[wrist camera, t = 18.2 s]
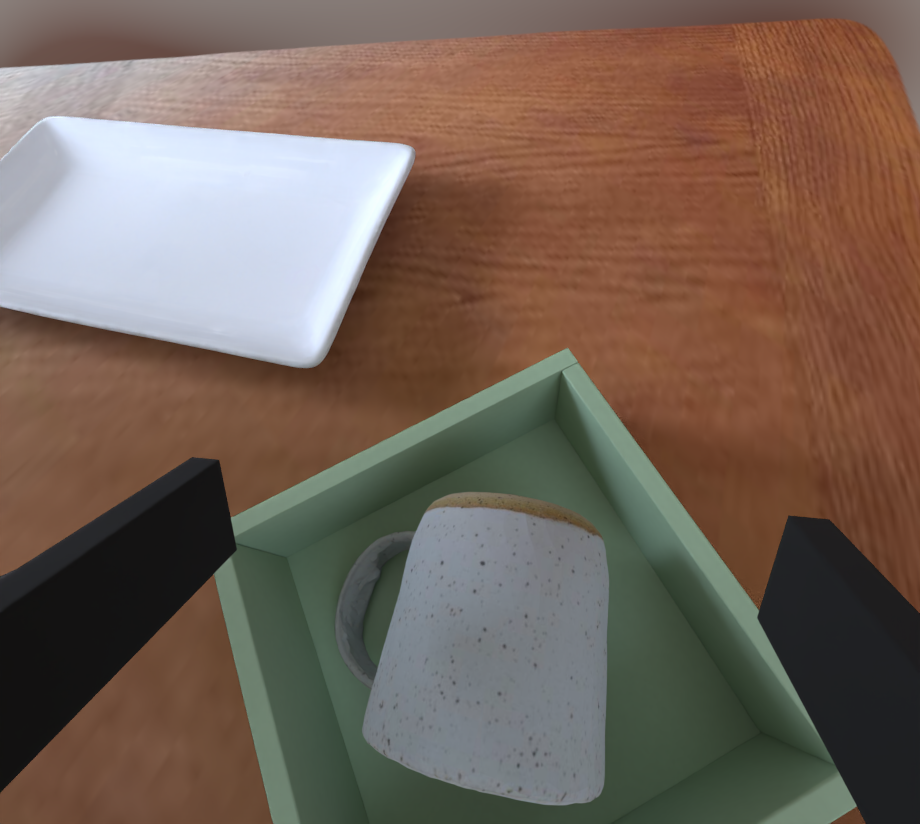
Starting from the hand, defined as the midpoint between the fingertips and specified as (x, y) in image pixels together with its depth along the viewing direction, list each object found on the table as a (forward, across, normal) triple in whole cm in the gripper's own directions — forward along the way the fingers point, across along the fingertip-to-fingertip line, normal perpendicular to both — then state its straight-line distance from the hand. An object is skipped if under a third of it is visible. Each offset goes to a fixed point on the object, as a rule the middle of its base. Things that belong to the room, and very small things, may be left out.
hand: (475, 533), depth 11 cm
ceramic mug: (+6, -1, -9) cm, 11 cm away
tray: (+22, -24, +5) cm, 33 cm away
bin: (+6, 0, -10) cm, 12 cm away
